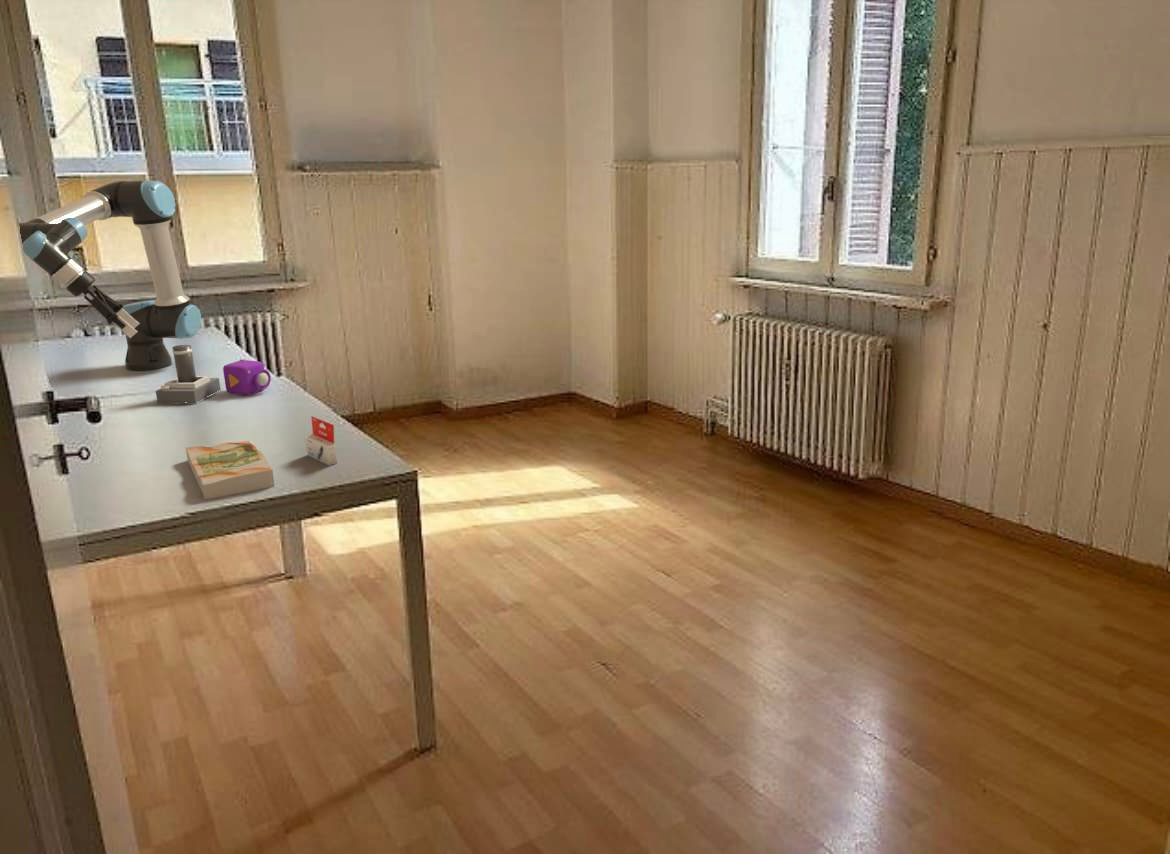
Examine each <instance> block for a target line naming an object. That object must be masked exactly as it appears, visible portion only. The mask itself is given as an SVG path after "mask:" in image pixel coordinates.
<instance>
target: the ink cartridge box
mask: <svg viewBox="0 0 1170 854" xmlns="http://www.w3.org/2000/svg"><path fill="white" fill-rule="evenodd" d="M321 424H322V425H323V426H324V427H325V428H324V427H321ZM311 428H312V434H308V435H305V436H304V438H305V446H306V454H307V456H309V457H310V458H313V459H315V460H317V461H319V462H321V463H323V464H325V465H328V466H331V465H335V464H338V457H337V451H336V450H337V449H336V443H335V425H334V424H333V423H331V422H330V423H329V422H327V421H325V420H322V419H320V418H317V417H316V416H313V415H312V416H311Z"/></svg>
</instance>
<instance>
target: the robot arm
mask: <svg viewBox="0 0 1170 854" xmlns="http://www.w3.org/2000/svg"><path fill="white" fill-rule="evenodd" d="M175 208H176V200H175V196H174V195H173V192H172V191H171V189H170V188H169V187H168V186H167V185H166V184H165V183H163V182H162V181H160V180H150V179H148V180H146V179H145V180H118V181H114V182H110V183H107V184H104V185H101V186H99V187H97V188H95V189H92V190H90V191H88V192H86V193H85V194H84V195H83V197H82V198H80V199H78V200H76V201H72V202H71V203H68V204H66V205H63V206H61V207H59V208H57V209H53V210H52V211H50V212H47V213H45V214H42V215H40V216H38V217H35V218H33V219H31V220H28V221H26V222H18V223H19V226H20V234H21V239H22V244H23V250H24V252H23V253H24V255H26V256H27V257H28V258H29V259H30V260H31V261H32V262H34V263H35V264H36V265H38V267H39V268H41V269H42V270H44V271H45V272H46V273H47V274H48V275H49V276H51V277H52V278H53V281H54V283H59V284H60V285H61V286H62V287H65V286H66V290H67V291H68V292H69V293H70V294H71V295H73V296H74V297H76V298H77V297H79V296H80V295H81V294H83V295H84V296H83V298H84V300H86V301H87V302H88V303H89V304H90V305H91V306H92V307H93V308H94V309H96V311H97V312H98V313H99V314H100V315H101V316H102V317H103V318H104V319H105V320H106V322H107V324H109V325H111V324H113V325H114V326H115V327H117V328H118V329H119V330H120V331H121V332H122V333H123V334H125V338H126V344H127V345H126V346H127V351H126V354H125V360H124V365H125V369H126V370H129V371H149V370H150V371H151V370H156V369H161V368H163V369H164V368H166V367H169V366H172V364H173V361H172V356H171V354H170V353H169V351H168V349H167V347H166V345H165V344H164V339H181V340H182V339H190V338H193V337H194V336H196V335H197V333H198V332H199V330H200V328H201V324H202V314H201V310H200V309H199V308H198V307H197V305H194V304H192V303H191V299H190V297H189V296H187V295H186V294H184V288H183V285H182V281H181V276H180V273H179V268H178V265H177V261H176V259H177V258H176V255H175V251H174V246H173V243H172V240H171V239H172V238H171V234H170V230H169V224H170V223H171V221H172V216H173V215H174V213H175V212H176V209H175ZM122 217H123V218H132V221H133V225H134V226H135V227H137V229H140V234H141V238H142V242H143V246H144V250H145V254H146V258H147V263H148V267H149V271H150V275H151V279H152V283H153V287H154V291H155V294H156V299H149V300H143V301H142V300H141V301H138V302H133V303H128V304H125V305H123V304H122V303H118V302H116V301H115V300H114V299H113V298H111V297H110V296H109V295H108V294H106V293H105V292H104V291H102V290H101V289H100V288H98V287H97V285H93V283H95V282H96V278H95V277H94V276H93V275H92V274H91V273H89V272H88V271H84V268H83V266H81V264H80V263H78V262H77V261H76V260H75V259H74V258H72V257H71V256H70V255H69V253H71V251H73V250H74V249H75V248H77V247H78V246H79V245H80V244H82V243H83V241H84V240H85V239H86V238H87V236H88V229H87V227H86V225H89V224H92V223H93V222H95V221H105V220H107V219H109V218H122Z"/></svg>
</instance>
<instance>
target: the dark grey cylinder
mask: <svg viewBox="0 0 1170 854" xmlns="http://www.w3.org/2000/svg"><path fill="white" fill-rule="evenodd" d="M172 354H173V359H174V364H175V370H176V375H177V376H176V378H178V383H193V382H195V381H197V380H196V376H197V375H196V367H195V363H194V357H193V349H192V345H190V344H181V345H174V346H172Z"/></svg>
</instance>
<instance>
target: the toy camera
mask: <svg viewBox="0 0 1170 854" xmlns="http://www.w3.org/2000/svg"><path fill="white" fill-rule="evenodd" d="M246 359H247V358H244V357H243V358H240V359H239V360H238V361H234V362H231V363H228V364H225V365H224V366H223V367H222V372H223V379H224V384H225V390H226V392H227V393H228V394H232V395H233V394H234V395H240V394H241V395H242V396H249V395H253V394H255V393H256V394H257V393H259V392H262V391H264V390H266V389H268V388H269V386H270V384H271V380H272V379H271V377H272V376H271V373H270V372H269V371H268V370H267V369H265V366H264V363H263V362H262V361H257V360H249V359H247V360H246Z"/></svg>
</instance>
